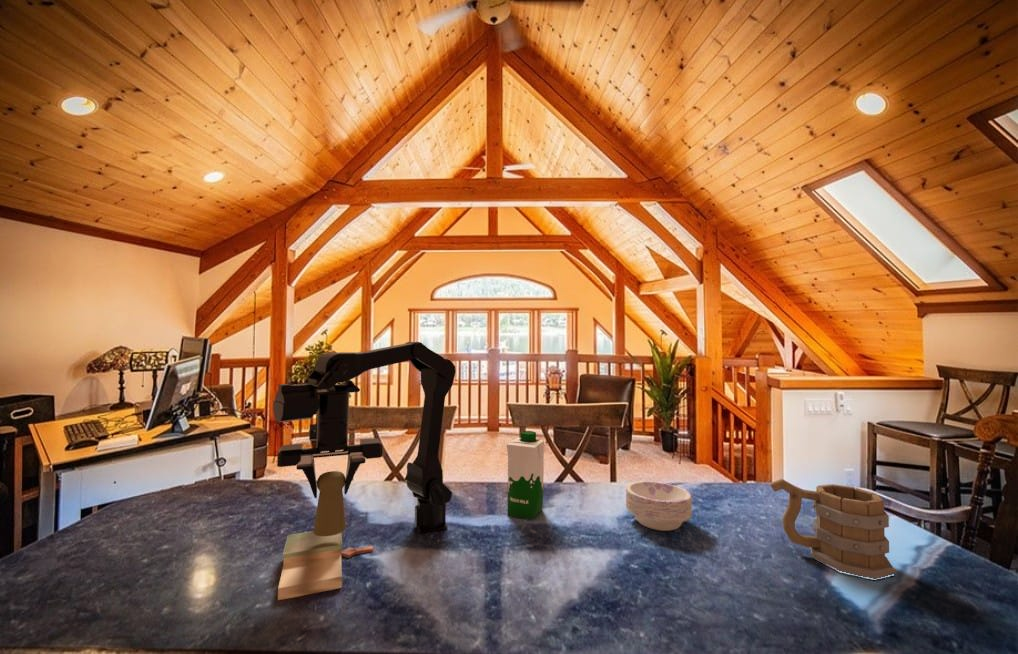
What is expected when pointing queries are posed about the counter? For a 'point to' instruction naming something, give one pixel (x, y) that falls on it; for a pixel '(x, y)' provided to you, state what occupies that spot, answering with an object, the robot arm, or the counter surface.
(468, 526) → the counter surface
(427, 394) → the robot arm
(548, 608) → the counter surface
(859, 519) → the tankard
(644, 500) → the paper bowls
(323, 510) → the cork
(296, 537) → the tan piece
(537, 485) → the milk carton
